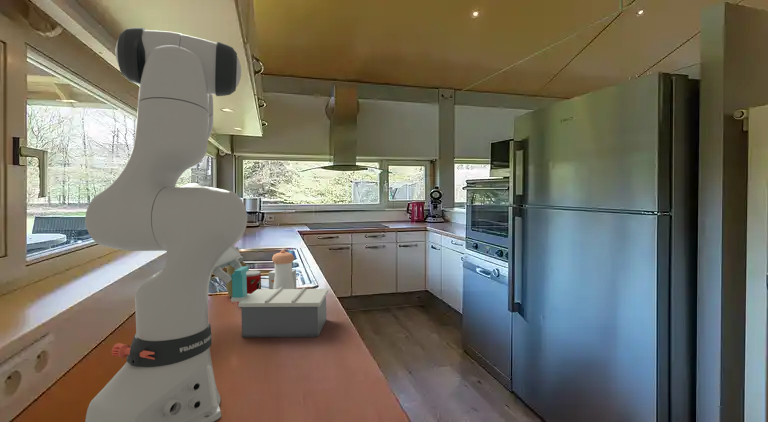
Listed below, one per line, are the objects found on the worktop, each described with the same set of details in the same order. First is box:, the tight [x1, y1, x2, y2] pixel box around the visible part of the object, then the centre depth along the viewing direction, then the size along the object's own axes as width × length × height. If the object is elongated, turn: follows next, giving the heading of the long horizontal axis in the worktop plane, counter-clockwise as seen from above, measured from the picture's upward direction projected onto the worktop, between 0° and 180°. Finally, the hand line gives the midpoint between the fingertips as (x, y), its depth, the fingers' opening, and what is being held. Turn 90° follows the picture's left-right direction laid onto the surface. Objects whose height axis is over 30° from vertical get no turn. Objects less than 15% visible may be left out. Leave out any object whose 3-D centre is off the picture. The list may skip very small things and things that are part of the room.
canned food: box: [236, 269, 262, 304], centre depth 135 cm, size 8×8×11 cm
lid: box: [230, 265, 329, 308], centre depth 110 cm, size 15×25×9 cm, turn 89°
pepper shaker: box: [271, 249, 295, 289], centre depth 130 cm, size 7×7×19 cm
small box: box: [268, 269, 298, 289], centre depth 140 cm, size 8×6×10 cm
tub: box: [240, 296, 327, 338], centre depth 111 cm, size 14×20×8 cm
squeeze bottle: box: [225, 246, 247, 298], centre depth 146 cm, size 8×8×18 cm
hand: (237, 277), depth 110 cm, fingers open, 8 cm apart
